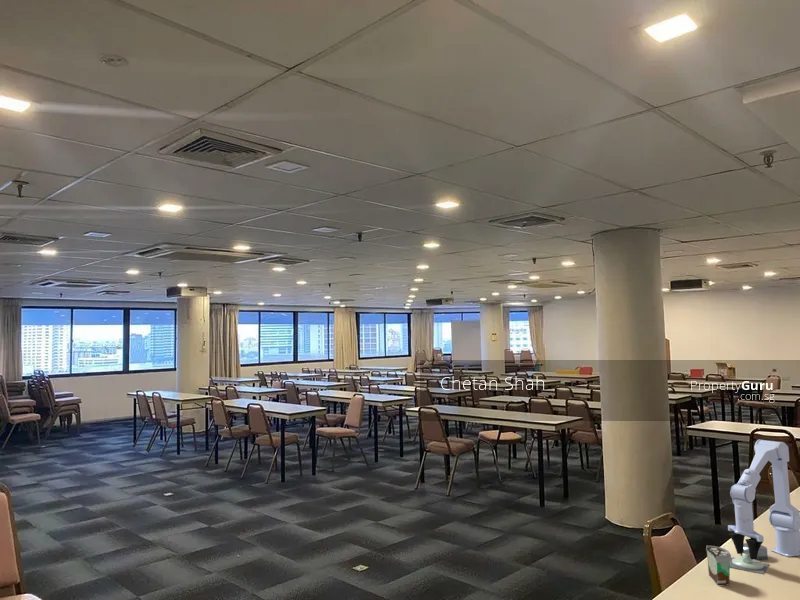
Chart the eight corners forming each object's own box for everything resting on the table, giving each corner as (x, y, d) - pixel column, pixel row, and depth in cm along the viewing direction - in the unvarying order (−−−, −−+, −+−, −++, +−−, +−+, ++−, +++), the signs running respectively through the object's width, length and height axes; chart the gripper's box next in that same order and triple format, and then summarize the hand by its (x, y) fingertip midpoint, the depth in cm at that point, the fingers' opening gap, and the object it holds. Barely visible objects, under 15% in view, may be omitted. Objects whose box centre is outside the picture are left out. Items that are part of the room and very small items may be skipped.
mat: (732, 558, 225) (732, 557, 225) (769, 564, 217) (769, 563, 217) (725, 566, 216) (725, 566, 216) (763, 574, 208) (763, 573, 208)
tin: (754, 551, 232) (753, 542, 232) (773, 559, 223) (772, 549, 223) (735, 553, 230) (734, 544, 230) (753, 561, 221) (753, 551, 221)
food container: (739, 588, 196) (736, 557, 197) (718, 587, 197) (716, 556, 198) (726, 575, 208) (724, 545, 209) (707, 574, 209) (705, 544, 210)
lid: (747, 559, 223) (746, 548, 223) (770, 568, 213) (769, 556, 213) (725, 562, 220) (725, 551, 220) (748, 571, 210) (747, 559, 211)
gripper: (720, 514, 224) (722, 550, 223) (750, 524, 210) (753, 563, 209) (735, 512, 226) (738, 549, 225) (767, 522, 212) (770, 561, 211)
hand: (746, 556), depth 217 cm, fingers open, 6 cm apart
